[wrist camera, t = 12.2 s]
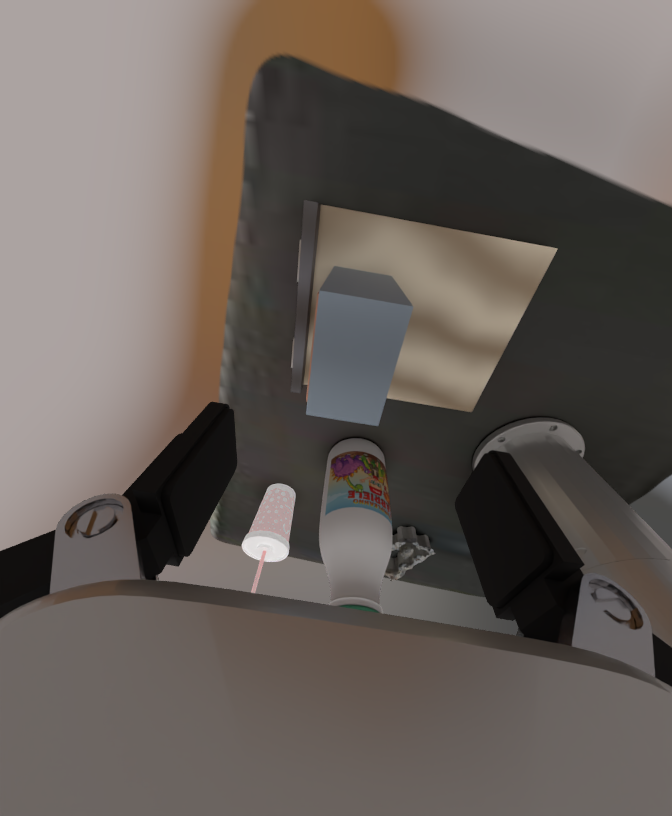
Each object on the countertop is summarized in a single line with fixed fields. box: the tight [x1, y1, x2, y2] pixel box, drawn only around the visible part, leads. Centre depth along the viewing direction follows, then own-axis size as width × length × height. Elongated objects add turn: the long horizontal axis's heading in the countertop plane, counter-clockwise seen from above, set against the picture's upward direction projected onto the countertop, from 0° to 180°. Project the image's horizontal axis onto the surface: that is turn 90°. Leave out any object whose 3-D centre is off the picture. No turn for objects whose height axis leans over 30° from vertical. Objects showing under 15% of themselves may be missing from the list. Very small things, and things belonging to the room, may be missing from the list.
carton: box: [306, 266, 413, 426], centre depth 21 cm, size 8×5×11 cm, turn 172°
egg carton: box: [385, 526, 436, 581], centre depth 47 cm, size 11×8×4 cm
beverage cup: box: [242, 484, 295, 593], centre depth 37 cm, size 6×6×14 cm
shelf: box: [291, 200, 557, 412], centre depth 25 cm, size 16×20×4 cm
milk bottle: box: [319, 438, 393, 613], centre depth 29 cm, size 8×8×20 cm
